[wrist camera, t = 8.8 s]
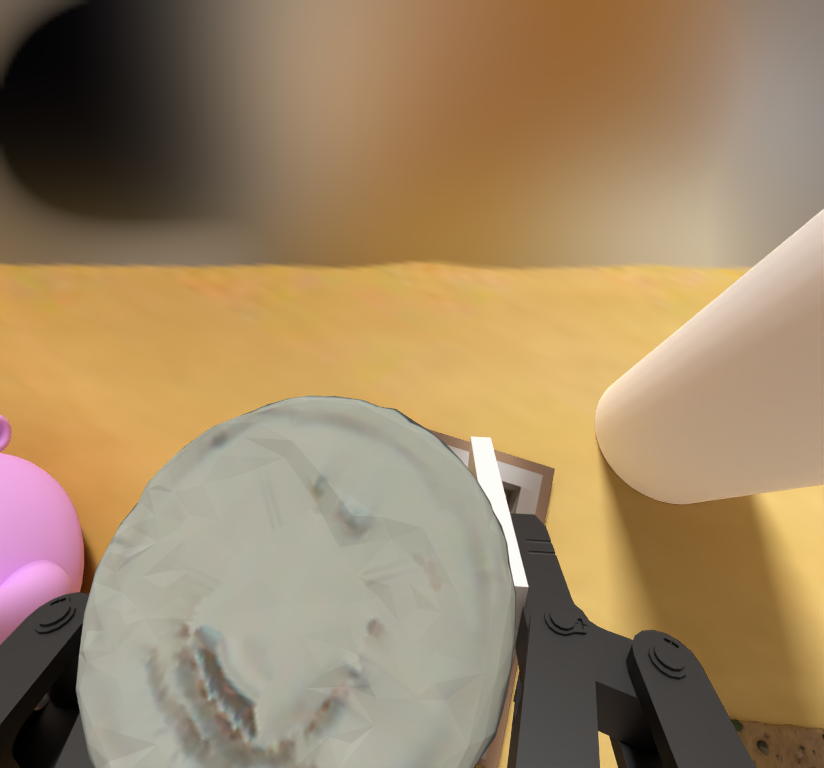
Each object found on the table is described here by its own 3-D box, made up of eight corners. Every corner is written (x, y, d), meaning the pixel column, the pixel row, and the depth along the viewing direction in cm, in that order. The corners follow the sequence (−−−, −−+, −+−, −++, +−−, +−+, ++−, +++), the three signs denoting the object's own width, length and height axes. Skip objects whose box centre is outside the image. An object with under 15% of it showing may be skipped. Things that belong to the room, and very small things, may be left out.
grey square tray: (226, 648, 23) (182, 672, 19) (331, 403, 28) (316, 379, 24) (493, 761, 21) (511, 818, 16) (550, 471, 26) (574, 457, 22)
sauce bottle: (352, 639, 20) (-339, 1548, 2) (327, 518, 23) (-93, 406, 4) (471, 598, 21) (814, 1005, 2) (434, 484, 23) (472, 256, 5)
